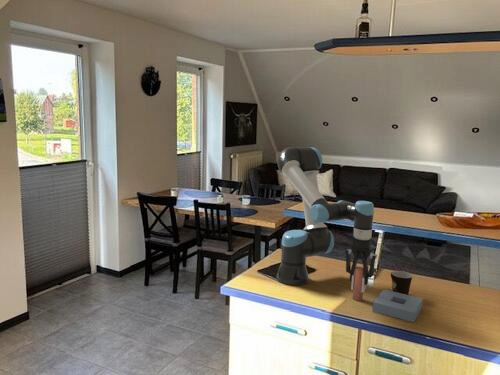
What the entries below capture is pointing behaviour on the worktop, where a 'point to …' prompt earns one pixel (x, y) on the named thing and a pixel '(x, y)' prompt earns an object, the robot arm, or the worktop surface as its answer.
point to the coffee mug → (401, 281)
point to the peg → (358, 284)
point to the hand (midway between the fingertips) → (358, 289)
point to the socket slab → (398, 305)
